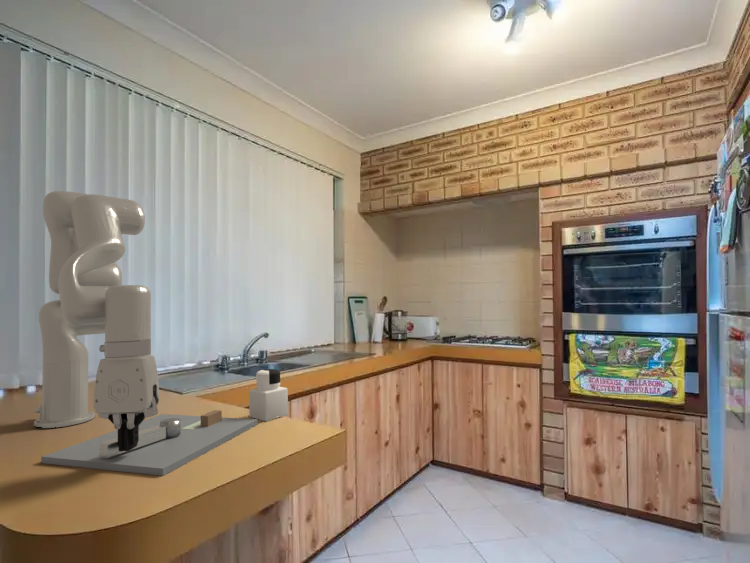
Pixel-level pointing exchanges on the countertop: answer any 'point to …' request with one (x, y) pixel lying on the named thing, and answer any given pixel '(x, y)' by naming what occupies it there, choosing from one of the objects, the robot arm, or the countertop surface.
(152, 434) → the swing bar
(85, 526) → the countertop surface
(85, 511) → the countertop surface
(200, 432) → the latch plate
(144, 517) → the countertop surface
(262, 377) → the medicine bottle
